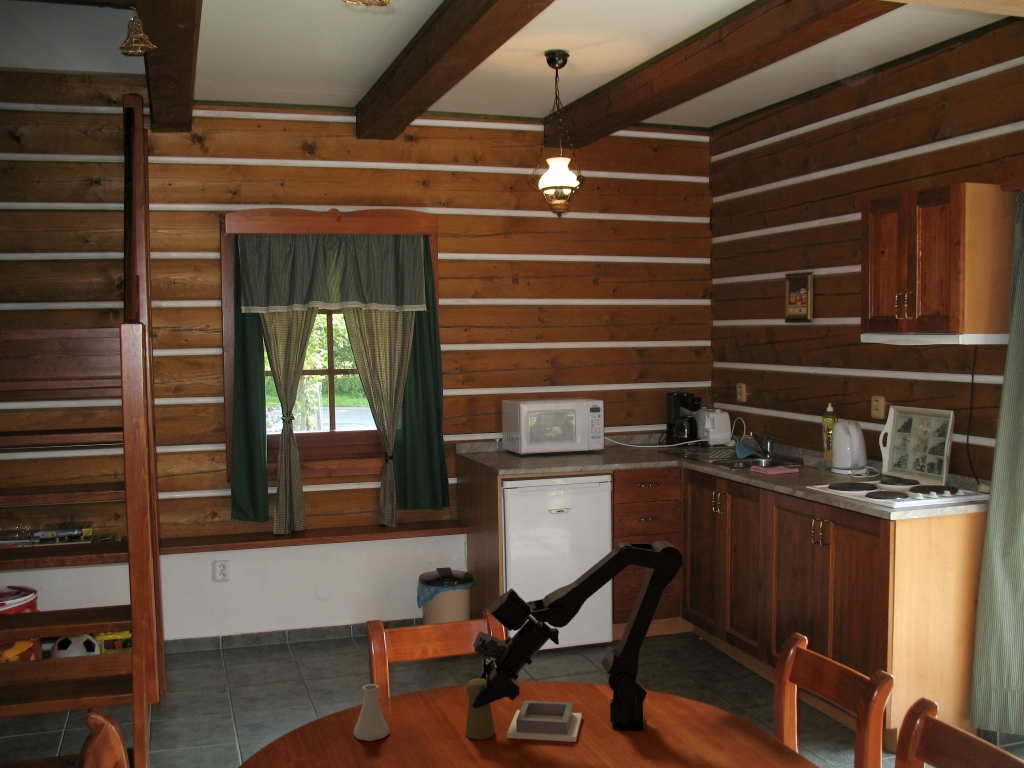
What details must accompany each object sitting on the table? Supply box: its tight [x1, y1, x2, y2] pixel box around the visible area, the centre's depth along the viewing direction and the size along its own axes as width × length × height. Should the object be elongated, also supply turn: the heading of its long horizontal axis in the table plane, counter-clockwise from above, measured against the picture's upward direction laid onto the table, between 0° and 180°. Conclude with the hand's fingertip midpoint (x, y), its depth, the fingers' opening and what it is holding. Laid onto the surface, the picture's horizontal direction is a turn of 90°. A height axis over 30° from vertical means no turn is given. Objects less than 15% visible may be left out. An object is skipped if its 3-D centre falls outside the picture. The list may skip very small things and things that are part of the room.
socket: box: [506, 699, 583, 743], centre depth 192 cm, size 14×12×4 cm
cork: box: [465, 677, 496, 740], centre depth 189 cm, size 6×6×11 cm
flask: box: [352, 683, 391, 742], centre depth 190 cm, size 7×7×10 cm
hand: (472, 701), depth 189 cm, fingers closed on cork, 5 cm apart
